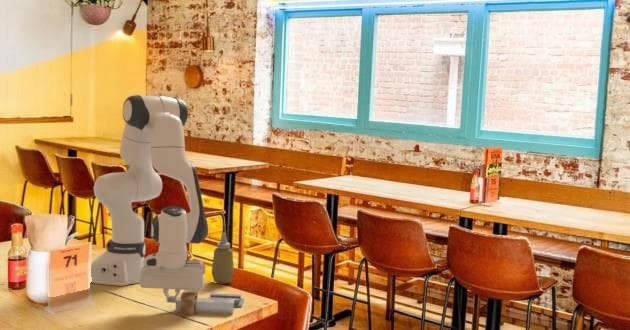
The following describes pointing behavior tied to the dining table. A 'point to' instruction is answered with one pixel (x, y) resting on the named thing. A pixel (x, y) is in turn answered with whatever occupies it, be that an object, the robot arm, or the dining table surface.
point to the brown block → (188, 302)
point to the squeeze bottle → (223, 262)
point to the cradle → (237, 298)
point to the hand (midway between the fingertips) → (171, 302)
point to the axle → (210, 305)
